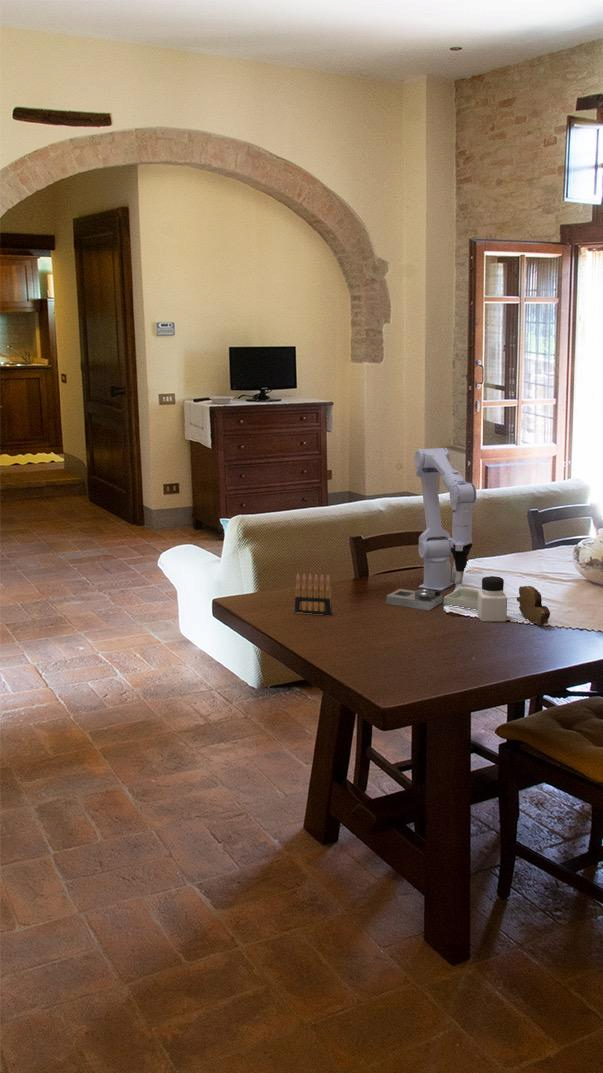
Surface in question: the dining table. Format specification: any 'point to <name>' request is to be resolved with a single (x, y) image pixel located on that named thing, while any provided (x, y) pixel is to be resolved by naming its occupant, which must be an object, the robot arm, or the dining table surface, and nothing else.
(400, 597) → the grey fixture block
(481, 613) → the medicine bottle
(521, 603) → the wooden carving
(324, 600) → the ammunition clip
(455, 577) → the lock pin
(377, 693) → the dining table surface
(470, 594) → the tray
